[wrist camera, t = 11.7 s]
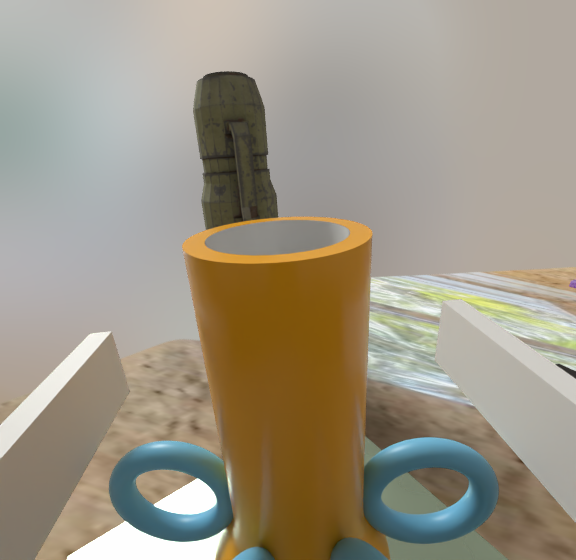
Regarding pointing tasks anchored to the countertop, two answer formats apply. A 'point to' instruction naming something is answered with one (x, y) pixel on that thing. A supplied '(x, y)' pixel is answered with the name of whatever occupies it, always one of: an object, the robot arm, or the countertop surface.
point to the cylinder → (293, 407)
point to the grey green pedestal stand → (201, 554)
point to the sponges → (573, 284)
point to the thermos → (233, 150)
